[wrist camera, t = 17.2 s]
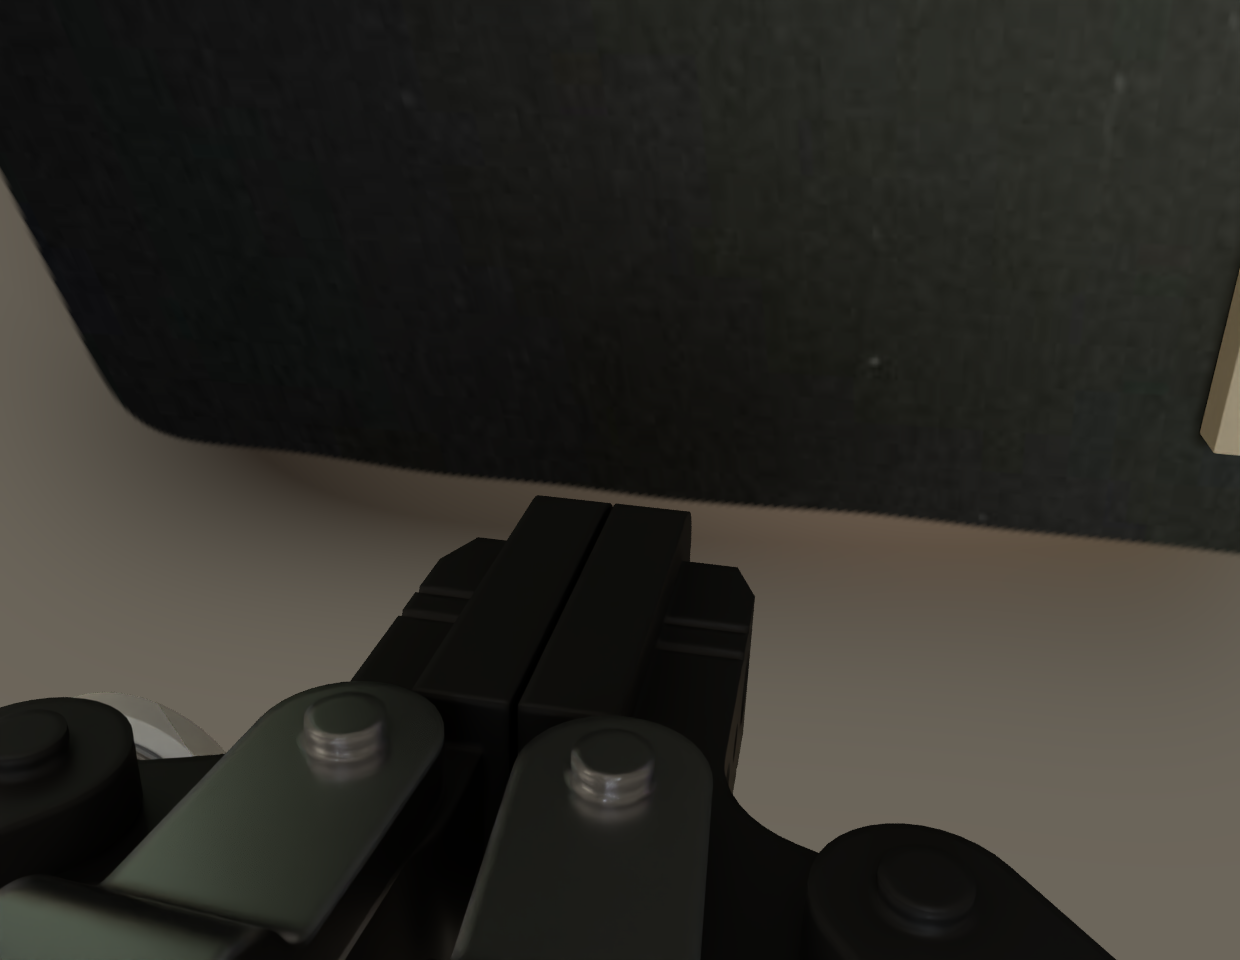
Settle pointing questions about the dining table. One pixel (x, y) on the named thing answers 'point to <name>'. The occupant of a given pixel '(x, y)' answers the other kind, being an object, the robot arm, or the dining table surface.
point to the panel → (1226, 389)
